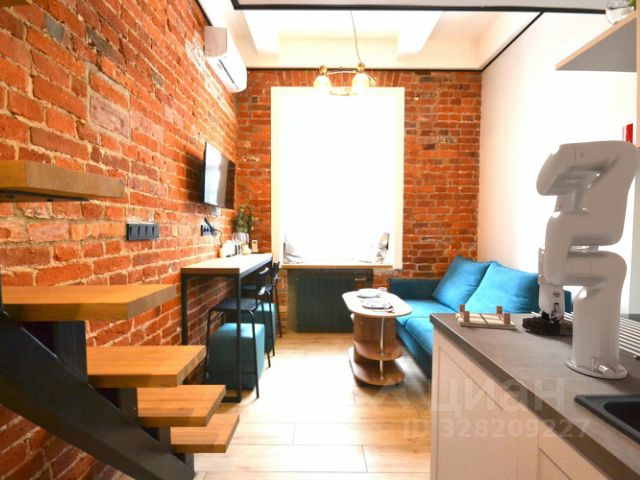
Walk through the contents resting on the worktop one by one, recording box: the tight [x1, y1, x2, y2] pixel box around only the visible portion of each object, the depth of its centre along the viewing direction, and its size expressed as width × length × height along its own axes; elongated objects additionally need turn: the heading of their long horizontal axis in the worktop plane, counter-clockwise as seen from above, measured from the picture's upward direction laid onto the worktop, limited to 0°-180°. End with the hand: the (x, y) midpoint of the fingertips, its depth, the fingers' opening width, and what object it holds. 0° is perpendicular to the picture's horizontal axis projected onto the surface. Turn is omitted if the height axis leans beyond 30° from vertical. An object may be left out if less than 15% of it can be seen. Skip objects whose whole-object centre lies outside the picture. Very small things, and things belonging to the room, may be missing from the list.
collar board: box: [454, 303, 517, 330], centre depth 130 cm, size 14×19×6 cm
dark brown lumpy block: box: [521, 315, 573, 337], centre depth 115 cm, size 18×7×6 cm, turn 63°
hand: (549, 330), depth 116 cm, fingers closed on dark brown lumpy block, 6 cm apart
